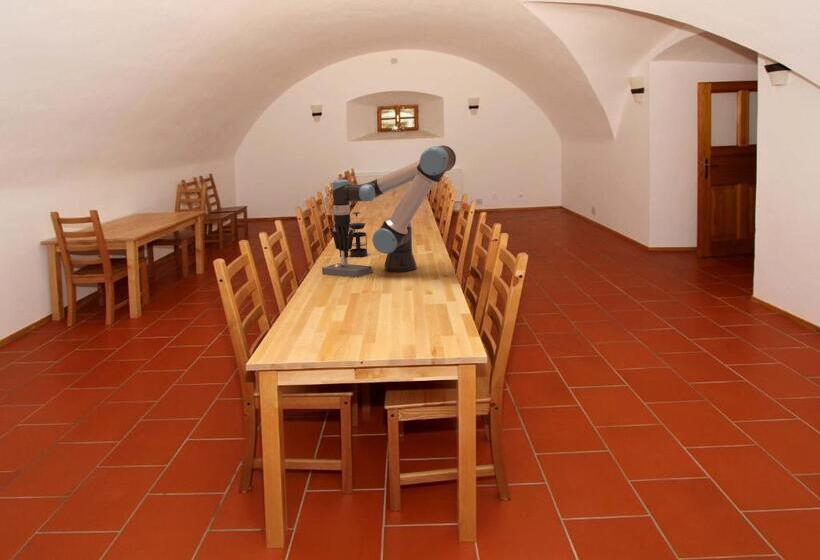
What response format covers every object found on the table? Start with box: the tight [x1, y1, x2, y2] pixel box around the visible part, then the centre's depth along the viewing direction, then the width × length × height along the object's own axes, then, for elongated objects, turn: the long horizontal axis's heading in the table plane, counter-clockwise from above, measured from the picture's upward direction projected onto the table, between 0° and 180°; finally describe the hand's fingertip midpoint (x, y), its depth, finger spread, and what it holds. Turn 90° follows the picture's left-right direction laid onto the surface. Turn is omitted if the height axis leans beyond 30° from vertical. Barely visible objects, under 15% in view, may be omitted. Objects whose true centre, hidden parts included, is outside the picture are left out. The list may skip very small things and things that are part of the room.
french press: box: [348, 211, 369, 258], centre depth 382 cm, size 12×9×23 cm
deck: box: [321, 262, 373, 278], centre depth 341 cm, size 20×12×3 cm, turn 57°
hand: (344, 264), depth 341 cm, fingers closed
